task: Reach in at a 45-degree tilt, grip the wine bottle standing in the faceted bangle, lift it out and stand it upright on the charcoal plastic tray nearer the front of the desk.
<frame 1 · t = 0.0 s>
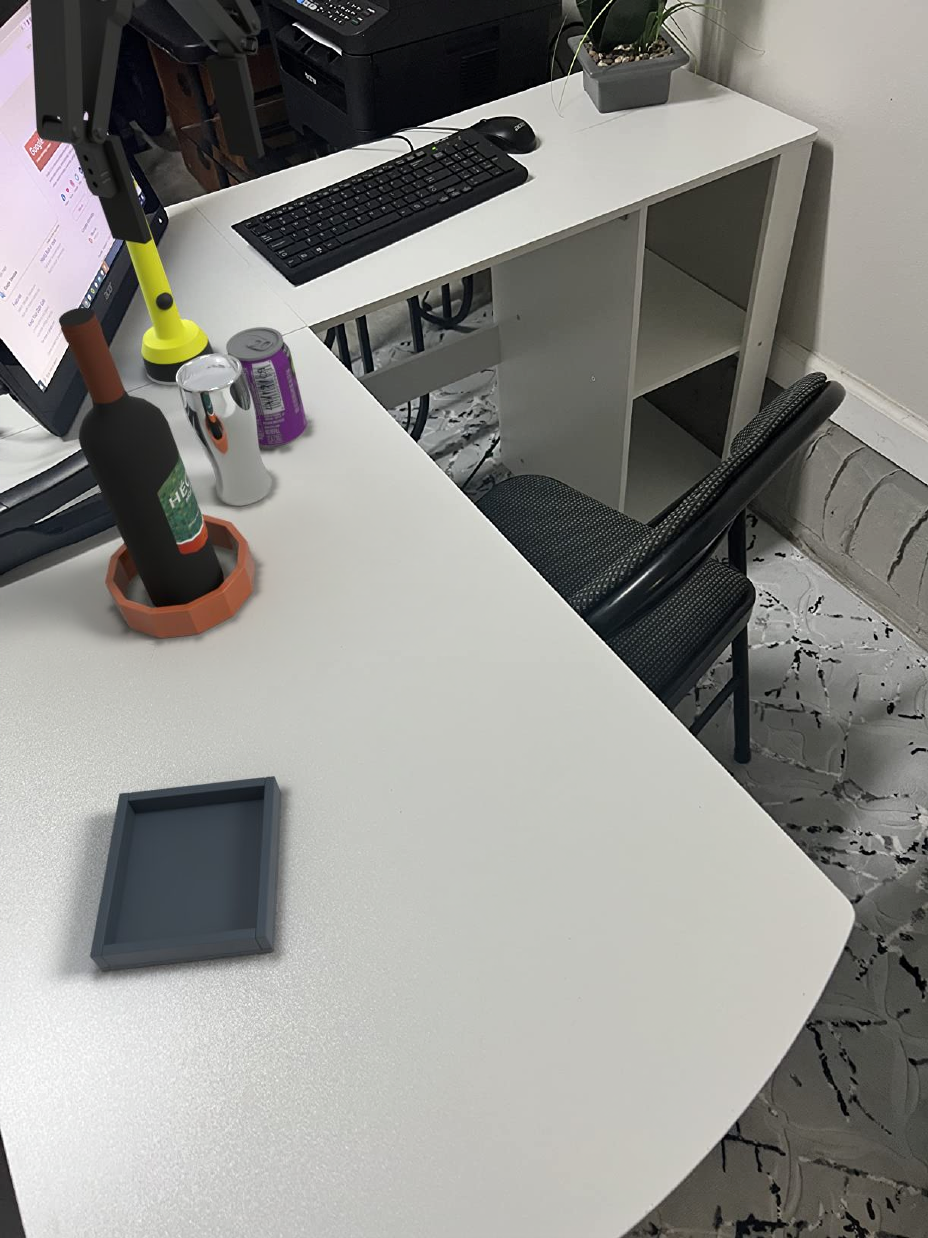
hand: (193, 194, 68), 39 cm above the table, tool pointing down, fingers open, 13 cm apart
beverage can: (278, 433, 113), on the table
faceted bangle: (186, 586, 97), on the table
beer glass: (245, 489, 107), on the table
flashlight: (181, 366, 125), on the table
tray: (197, 876, 75), on the table
wine bottle: (187, 587, 97), resting in faceted bangle
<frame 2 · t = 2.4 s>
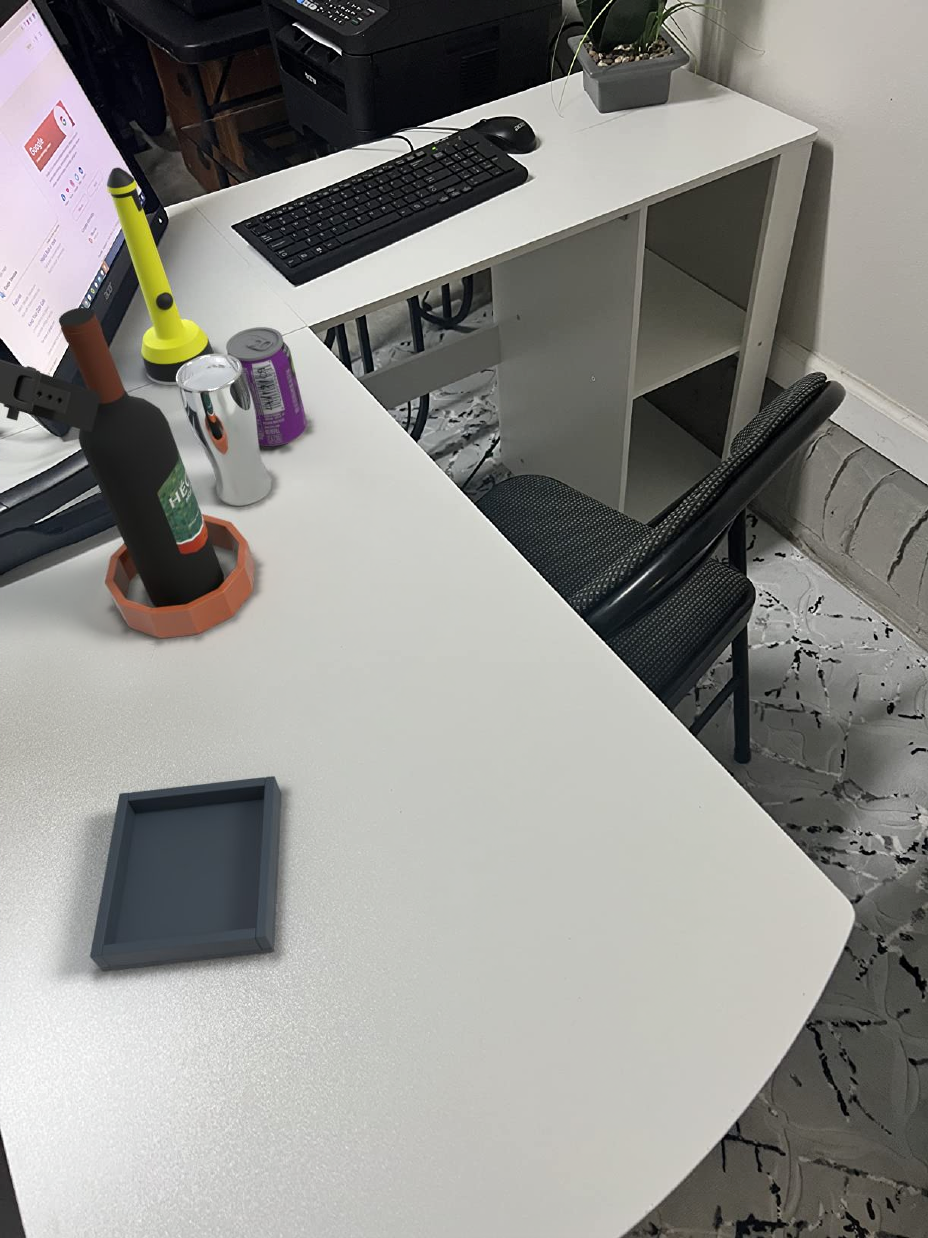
hand: (24, 391, 69), 30 cm above the table, tool tilted 45°, fingers open, 13 cm apart
nothing on the table moved.
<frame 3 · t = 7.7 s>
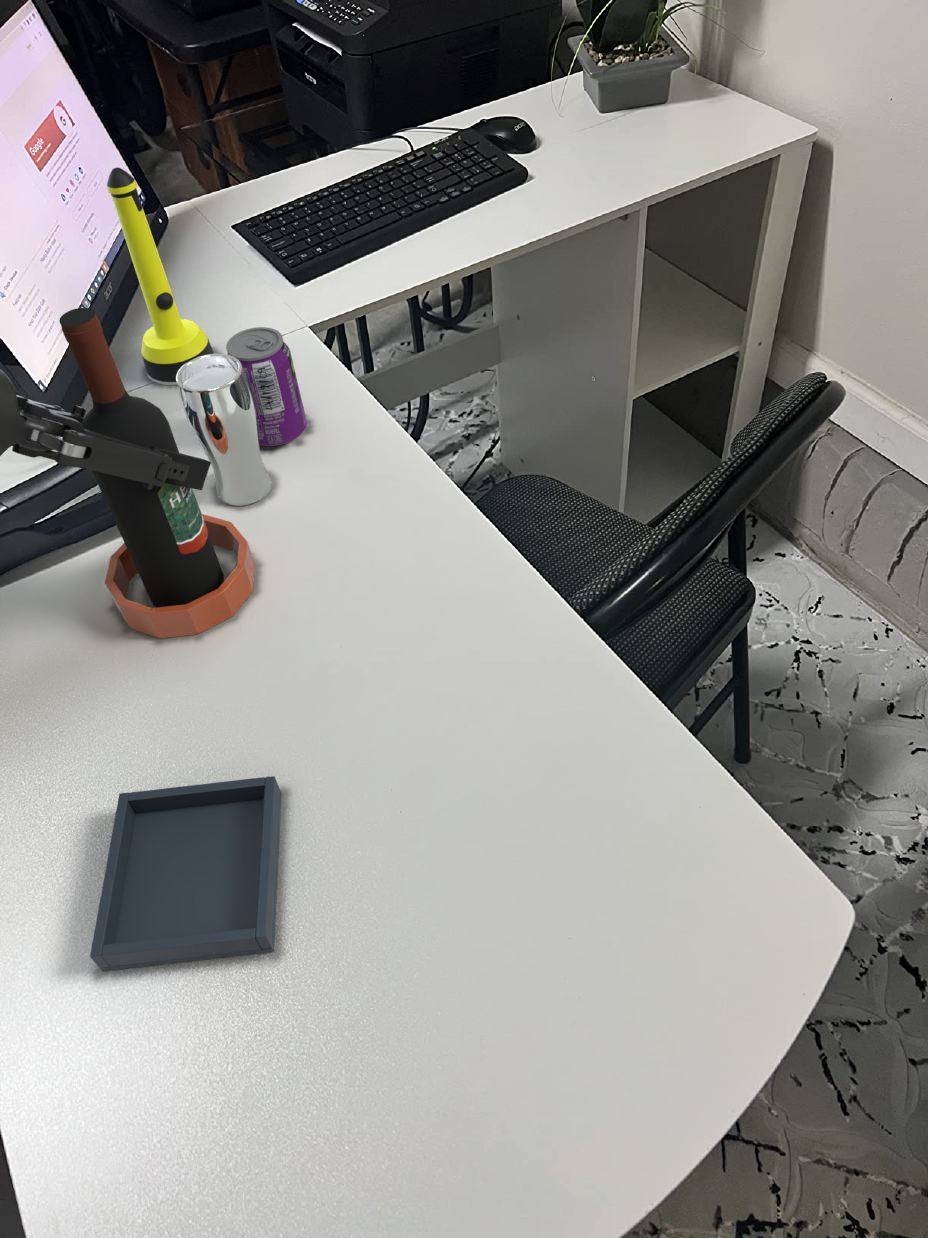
hand: (171, 460, 89), 14 cm above the table, tool tilted 45°, fingers closed on wine bottle, 7 cm apart
wine bottle: (187, 587, 97), resting in faceted bangle, touching gripper
everything else where it was.
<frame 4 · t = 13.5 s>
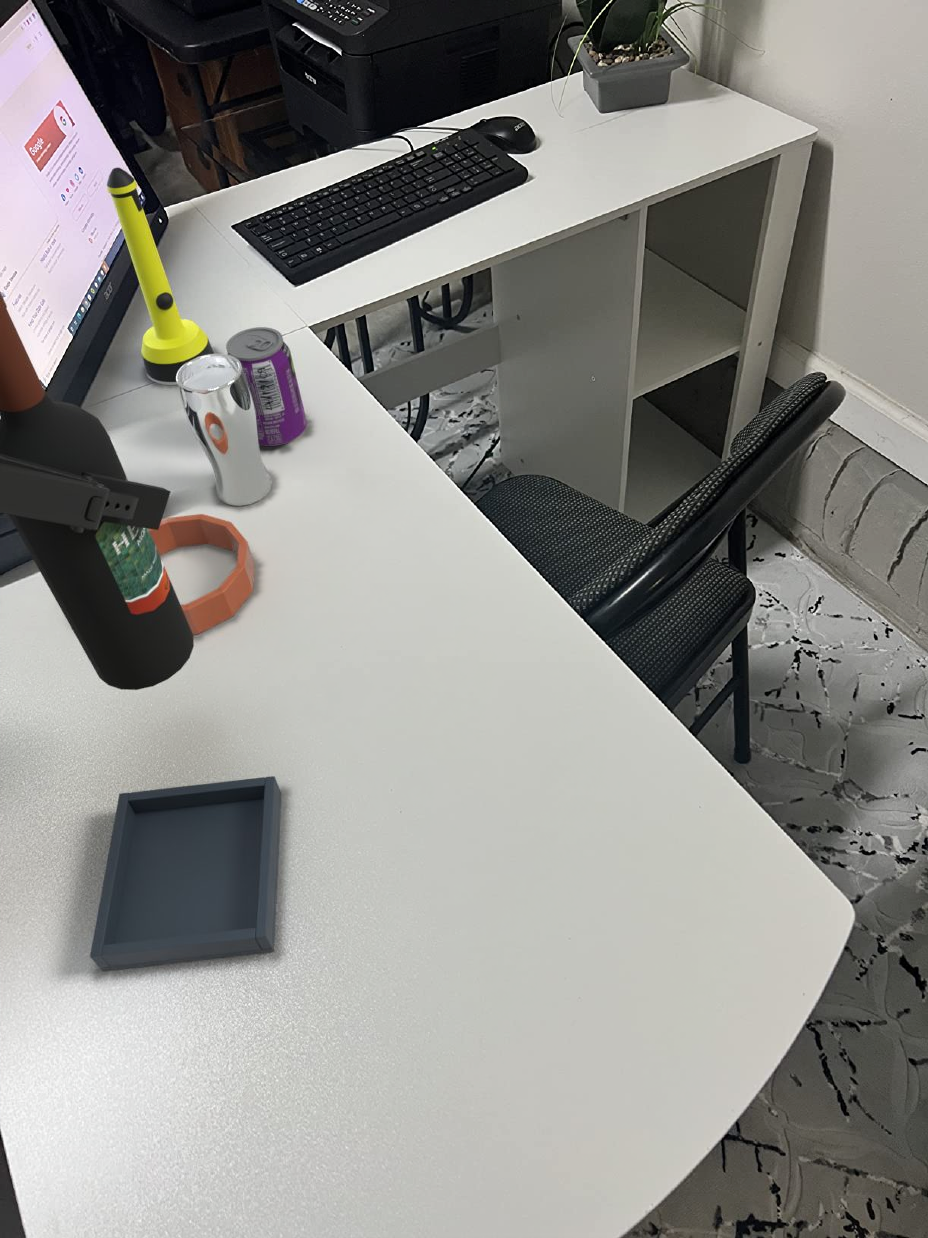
hand: (118, 488, 65), 27 cm above the table, tool tilted 45°, fingers closed on wine bottle, 7 cm apart
wine bottle: (145, 652, 74), point 13 cm above the table, touching gripper
everything else where it was.
when the fingers open (14 cm above the table, at t = 19.2 s): wine bottle stays where it is, resting on tray.
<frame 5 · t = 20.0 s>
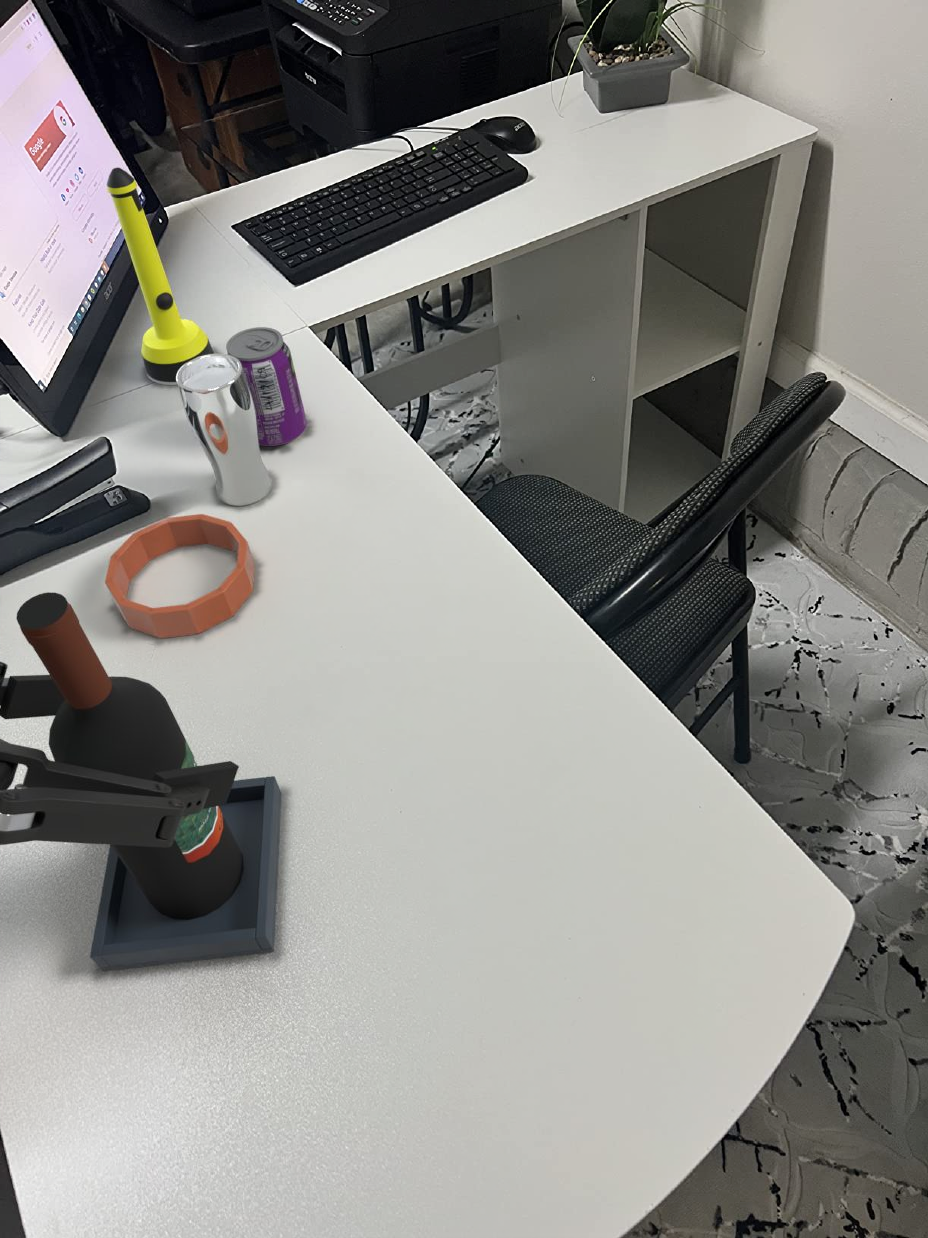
hand: (156, 735, 64), 16 cm above the table, tool tilted 45°, fingers open, 13 cm apart
wine bottle: (195, 875, 75), resting on tray
everything else where it was.
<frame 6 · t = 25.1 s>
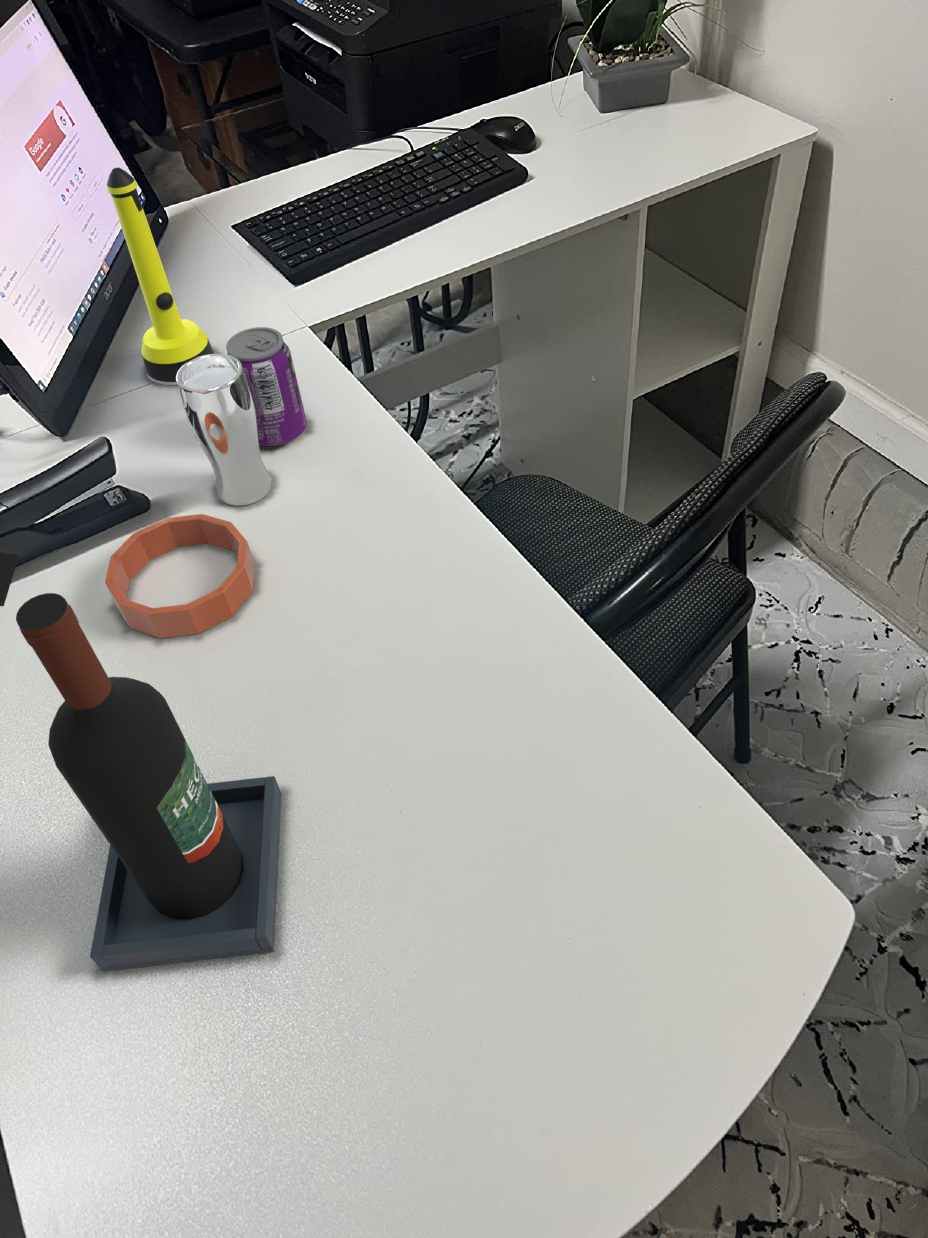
nothing on the table moved.
at the end: wine bottle inside the target area in the tray (0.1 cm from its centre), point 0.4 cm above the tray's base; wine bottle tilted 0°; wine bottle touching tray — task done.
